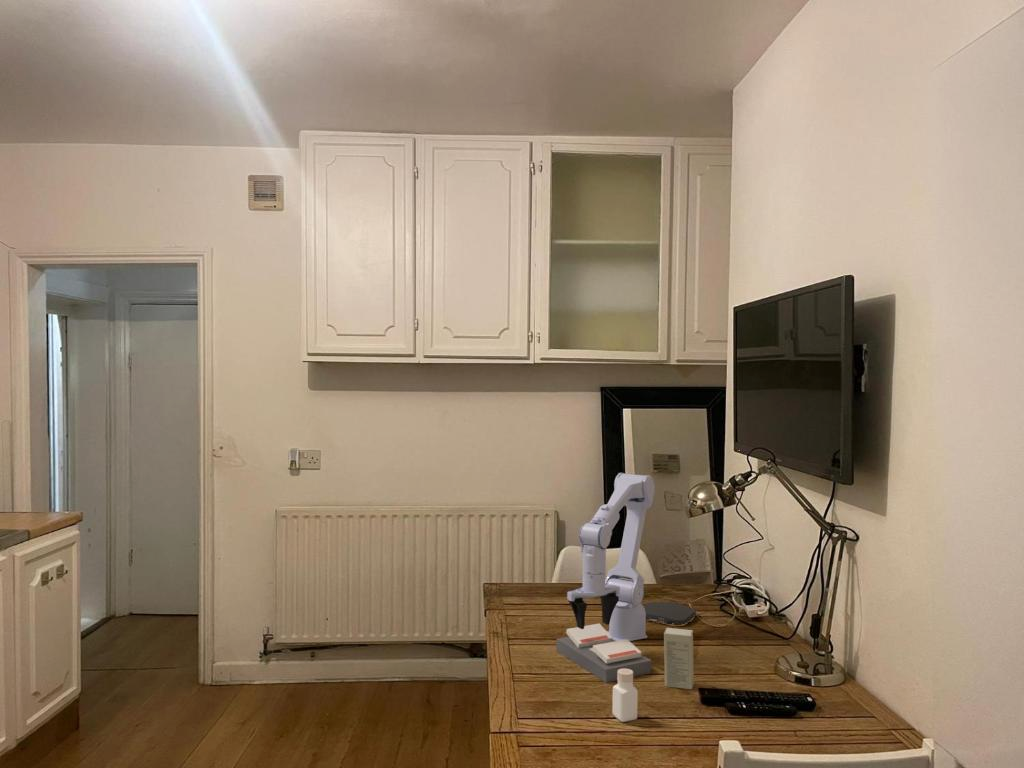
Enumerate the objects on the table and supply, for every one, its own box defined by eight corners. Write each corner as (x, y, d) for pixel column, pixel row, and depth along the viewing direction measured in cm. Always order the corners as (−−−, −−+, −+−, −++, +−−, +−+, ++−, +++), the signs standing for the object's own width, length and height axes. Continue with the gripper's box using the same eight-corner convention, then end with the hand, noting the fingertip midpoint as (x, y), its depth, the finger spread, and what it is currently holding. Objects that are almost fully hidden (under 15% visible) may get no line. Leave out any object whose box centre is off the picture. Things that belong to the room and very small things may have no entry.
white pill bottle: (621, 723, 146) (622, 676, 146) (611, 715, 150) (611, 669, 150) (638, 720, 148) (639, 673, 148) (627, 711, 151) (628, 666, 151)
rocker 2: (626, 643, 178) (626, 639, 178) (640, 656, 173) (641, 652, 173) (592, 650, 174) (592, 645, 173) (606, 663, 168) (607, 659, 168)
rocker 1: (598, 627, 189) (599, 623, 189) (611, 641, 184) (612, 637, 183) (566, 632, 184) (566, 628, 184) (578, 648, 179) (578, 643, 179)
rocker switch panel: (598, 642, 191) (598, 630, 191) (651, 672, 172) (651, 659, 172) (556, 650, 185) (556, 638, 185) (605, 682, 166) (606, 668, 166)
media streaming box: (699, 616, 216) (699, 606, 216) (682, 630, 203) (683, 619, 203) (653, 607, 224) (653, 597, 224) (634, 620, 211) (634, 610, 211)
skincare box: (693, 683, 167) (694, 629, 167) (692, 690, 162) (692, 636, 162) (665, 678, 169) (666, 626, 169) (663, 686, 165) (663, 632, 165)
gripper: (608, 564, 189) (607, 616, 189) (561, 571, 182) (560, 624, 182) (624, 571, 183) (624, 625, 183) (576, 577, 176) (575, 633, 176)
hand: (593, 625), depth 182 cm, fingers open, 7 cm apart
